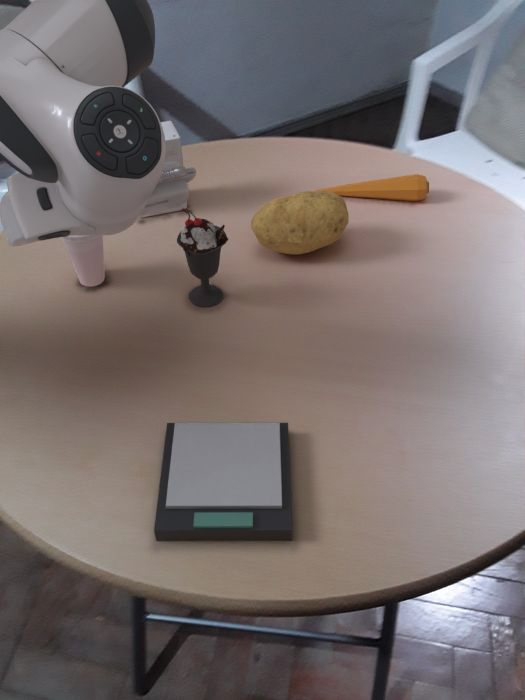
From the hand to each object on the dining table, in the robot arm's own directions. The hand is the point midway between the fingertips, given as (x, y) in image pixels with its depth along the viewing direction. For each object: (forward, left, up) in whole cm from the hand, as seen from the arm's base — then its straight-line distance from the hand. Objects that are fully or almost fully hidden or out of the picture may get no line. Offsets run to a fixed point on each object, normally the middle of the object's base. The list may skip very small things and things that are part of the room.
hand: (93, 221), depth 81 cm
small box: (+3, +31, -17) cm, 35 cm away
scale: (+16, -25, -17) cm, 35 cm away
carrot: (+39, +34, -17) cm, 54 cm away
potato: (+26, +19, -17) cm, 36 cm away
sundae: (+12, +7, -17) cm, 22 cm away
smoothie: (-5, +11, -17) cm, 21 cm away
